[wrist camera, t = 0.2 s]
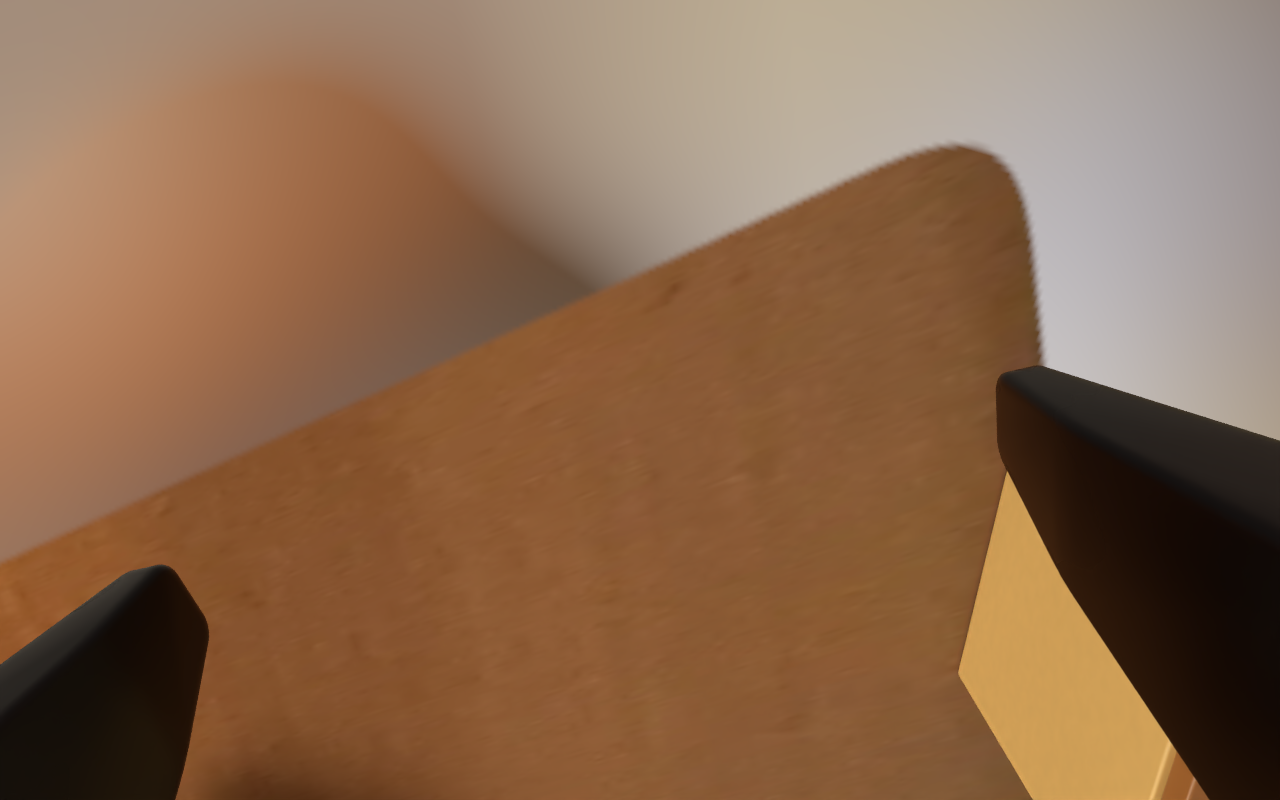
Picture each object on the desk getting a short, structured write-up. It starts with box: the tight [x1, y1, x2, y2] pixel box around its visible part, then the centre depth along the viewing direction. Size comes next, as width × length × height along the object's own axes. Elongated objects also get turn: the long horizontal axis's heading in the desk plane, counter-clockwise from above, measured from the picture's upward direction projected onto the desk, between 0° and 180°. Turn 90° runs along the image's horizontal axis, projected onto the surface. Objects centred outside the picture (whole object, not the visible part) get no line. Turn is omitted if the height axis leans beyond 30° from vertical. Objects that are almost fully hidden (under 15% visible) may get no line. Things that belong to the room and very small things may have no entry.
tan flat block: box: [958, 472, 1209, 800], centre depth 22 cm, size 7×2×10 cm, turn 174°
